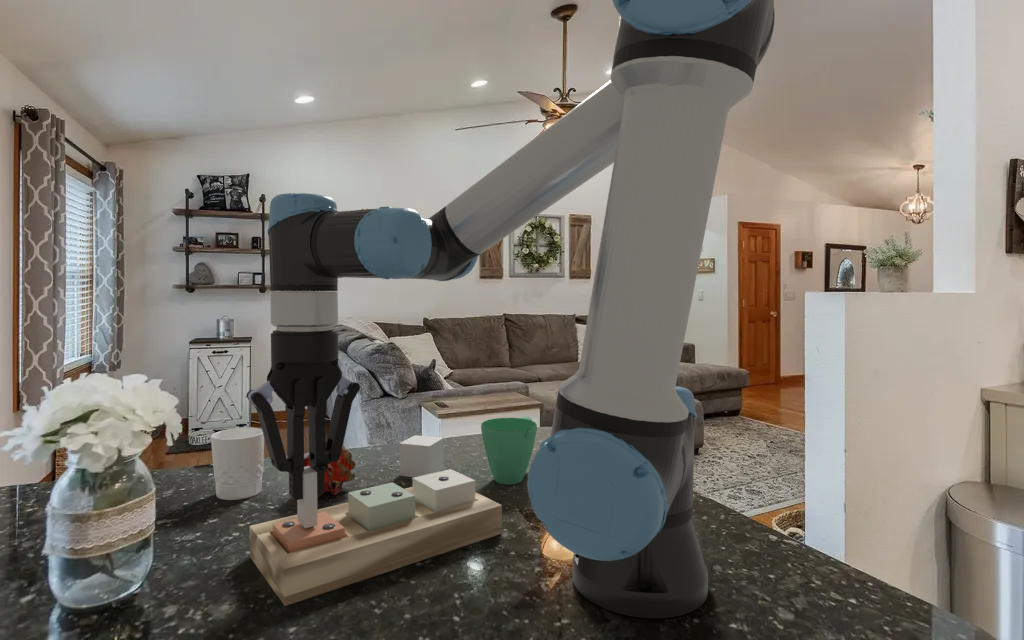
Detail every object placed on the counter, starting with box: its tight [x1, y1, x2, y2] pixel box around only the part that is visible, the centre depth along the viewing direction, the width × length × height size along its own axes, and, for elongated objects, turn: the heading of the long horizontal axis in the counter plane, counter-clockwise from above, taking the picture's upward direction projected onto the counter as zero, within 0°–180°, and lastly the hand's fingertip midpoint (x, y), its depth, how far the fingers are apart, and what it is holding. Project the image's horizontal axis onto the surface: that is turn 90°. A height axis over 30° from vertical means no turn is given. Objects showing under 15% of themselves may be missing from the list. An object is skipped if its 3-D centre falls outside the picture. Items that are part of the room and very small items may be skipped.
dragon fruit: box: [304, 445, 356, 498], centre depth 93 cm, size 8×8×12 cm
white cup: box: [210, 426, 265, 501], centre depth 93 cm, size 8×8×10 cm
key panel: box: [249, 486, 503, 607], centre depth 75 cm, size 14×29×4 cm, turn 128°
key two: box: [347, 482, 415, 531], centre depth 75 cm, size 6×6×4 cm
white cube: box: [398, 434, 445, 478], centre depth 104 cm, size 6×6×6 cm
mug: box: [480, 416, 538, 486], centre depth 102 cm, size 15×10×10 cm
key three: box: [273, 512, 345, 554], centre depth 69 cm, size 6×6×4 cm
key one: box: [411, 468, 476, 512], centre depth 80 cm, size 6×6×4 cm
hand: (307, 522), depth 69 cm, fingers closed
